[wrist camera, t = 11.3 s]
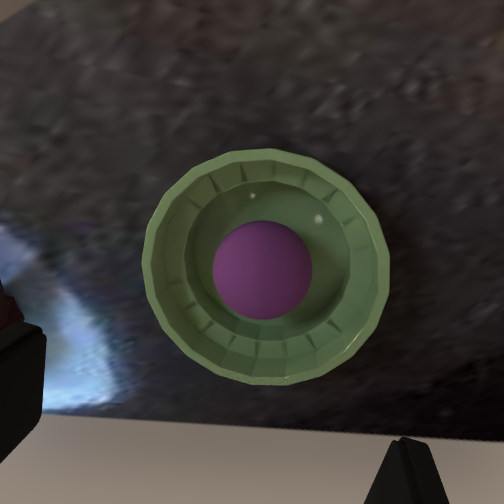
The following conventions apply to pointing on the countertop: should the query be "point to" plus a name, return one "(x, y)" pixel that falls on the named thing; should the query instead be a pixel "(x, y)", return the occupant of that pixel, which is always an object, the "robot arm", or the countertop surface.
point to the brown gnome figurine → (8, 310)
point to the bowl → (305, 226)
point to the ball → (262, 270)
